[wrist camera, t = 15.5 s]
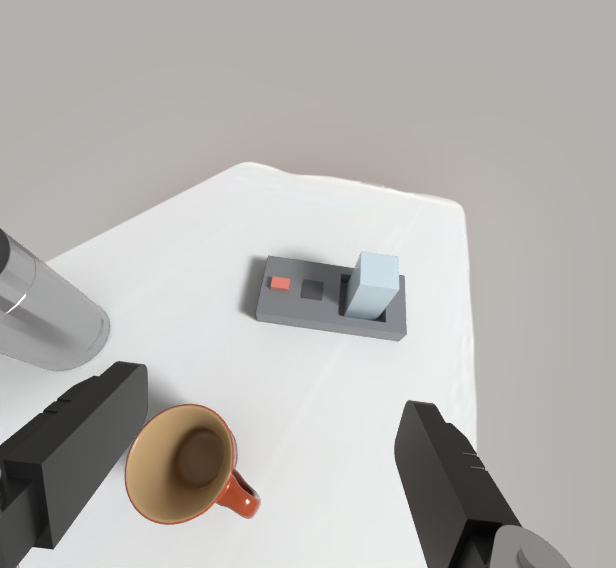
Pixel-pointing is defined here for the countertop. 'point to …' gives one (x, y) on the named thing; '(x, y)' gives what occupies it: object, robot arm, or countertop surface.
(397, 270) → the block
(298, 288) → the power strip
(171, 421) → the mug
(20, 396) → the countertop surface
